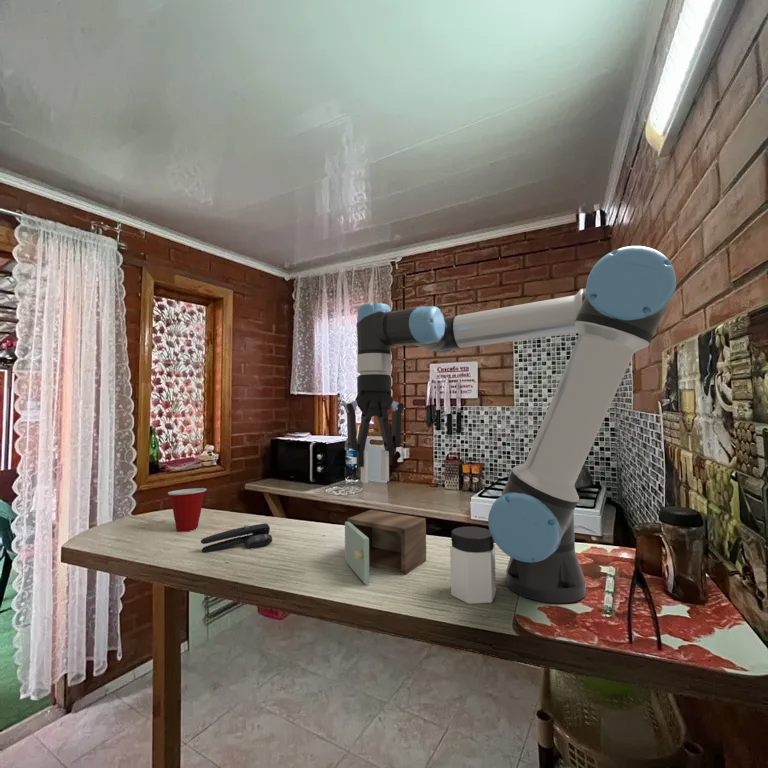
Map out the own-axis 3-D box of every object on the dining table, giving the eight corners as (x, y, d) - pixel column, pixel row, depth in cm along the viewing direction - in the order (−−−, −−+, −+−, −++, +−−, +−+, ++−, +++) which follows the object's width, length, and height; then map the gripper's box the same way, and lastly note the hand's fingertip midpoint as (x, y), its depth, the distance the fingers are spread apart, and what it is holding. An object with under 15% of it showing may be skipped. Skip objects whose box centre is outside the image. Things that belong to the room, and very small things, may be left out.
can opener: (269, 539, 117) (269, 519, 117) (273, 547, 111) (273, 525, 111) (200, 548, 110) (200, 527, 110) (200, 557, 103) (200, 534, 104)
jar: (458, 582, 87) (457, 523, 88) (498, 588, 84) (497, 528, 84) (446, 600, 79) (445, 536, 80) (490, 608, 76) (489, 541, 76)
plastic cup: (200, 522, 134) (200, 484, 135) (210, 529, 126) (211, 489, 127) (163, 528, 128) (163, 489, 128) (171, 536, 119) (172, 494, 120)
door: (338, 561, 98) (338, 522, 98) (349, 559, 99) (348, 521, 99) (357, 584, 85) (357, 540, 85) (369, 582, 86) (368, 538, 86)
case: (426, 560, 99) (425, 518, 100) (405, 575, 91) (404, 528, 91) (371, 548, 108) (370, 509, 109) (347, 560, 100) (347, 518, 100)
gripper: (402, 376, 99) (403, 475, 97) (331, 374, 92) (331, 481, 91) (416, 374, 92) (417, 481, 91) (341, 372, 85) (341, 487, 84)
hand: (374, 480), depth 91 cm, fingers open, 4 cm apart
